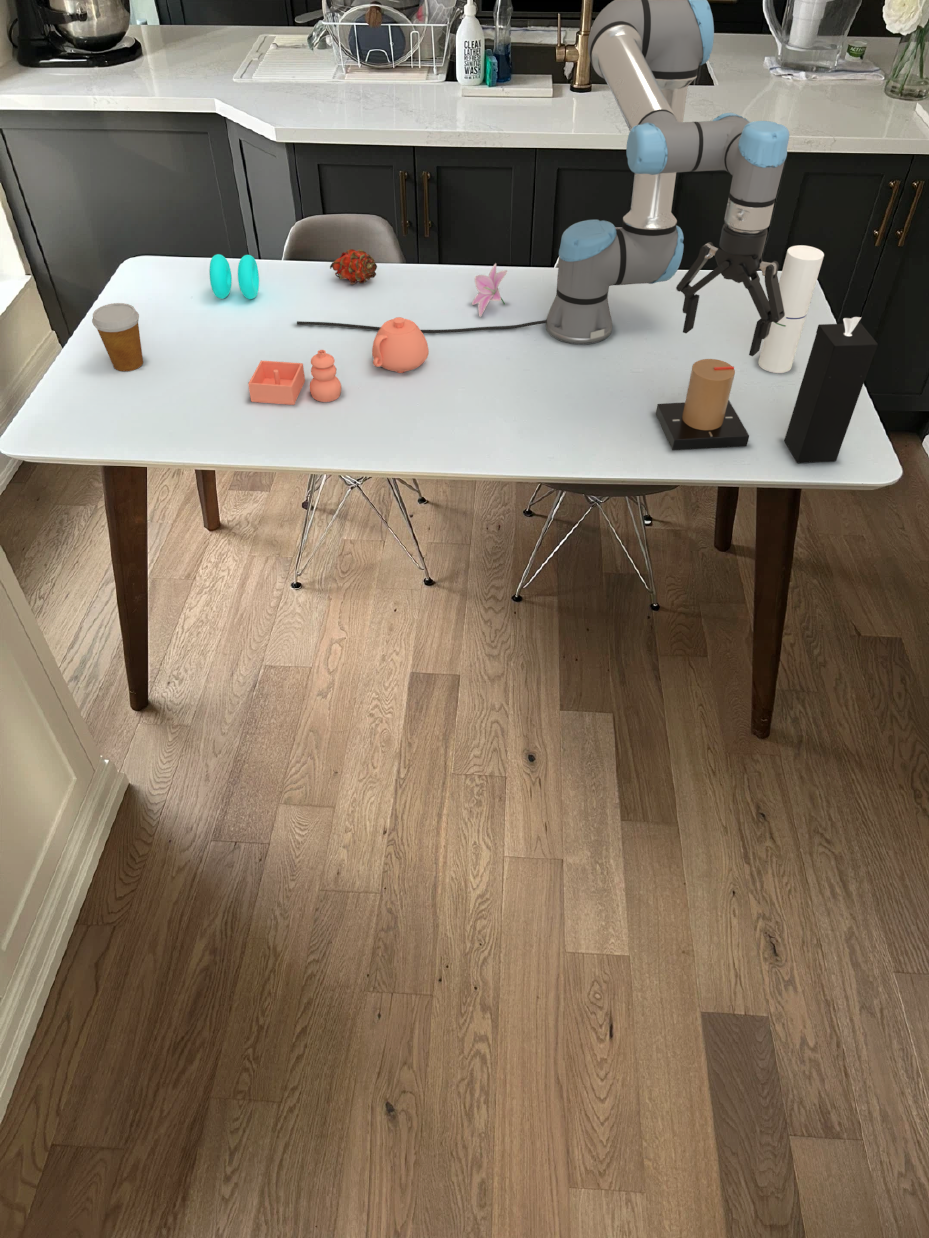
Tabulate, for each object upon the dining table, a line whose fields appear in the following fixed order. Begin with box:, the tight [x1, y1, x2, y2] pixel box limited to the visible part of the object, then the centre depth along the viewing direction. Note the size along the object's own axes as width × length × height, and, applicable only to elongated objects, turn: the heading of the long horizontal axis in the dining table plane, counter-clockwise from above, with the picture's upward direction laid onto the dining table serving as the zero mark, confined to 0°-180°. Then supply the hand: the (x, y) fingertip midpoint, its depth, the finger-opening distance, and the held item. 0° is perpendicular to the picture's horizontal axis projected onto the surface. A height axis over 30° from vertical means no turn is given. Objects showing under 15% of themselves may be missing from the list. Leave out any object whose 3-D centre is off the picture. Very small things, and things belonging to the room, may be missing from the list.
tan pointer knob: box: [682, 358, 736, 430], centre depth 178 cm, size 8×8×11 cm
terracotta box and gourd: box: [247, 349, 342, 406], centre depth 189 cm, size 18×10×10 cm, turn 83°
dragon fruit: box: [329, 248, 378, 286], centre depth 228 cm, size 8×8×12 cm
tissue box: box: [783, 316, 879, 464], centre depth 169 cm, size 8×8×28 cm
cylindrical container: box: [757, 244, 825, 374], centre depth 194 cm, size 7×7×25 cm
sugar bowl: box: [371, 316, 430, 374], centre depth 198 cm, size 12×14×10 cm
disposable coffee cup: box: [91, 302, 144, 372], centre depth 196 cm, size 10×10×12 cm
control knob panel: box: [655, 399, 750, 451], centre depth 183 cm, size 15×13×3 cm
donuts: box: [209, 253, 260, 300], centre depth 220 cm, size 10×10×10 cm
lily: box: [471, 262, 508, 318], centre depth 218 cm, size 12×12×10 cm
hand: (720, 341), depth 170 cm, fingers open, 13 cm apart
